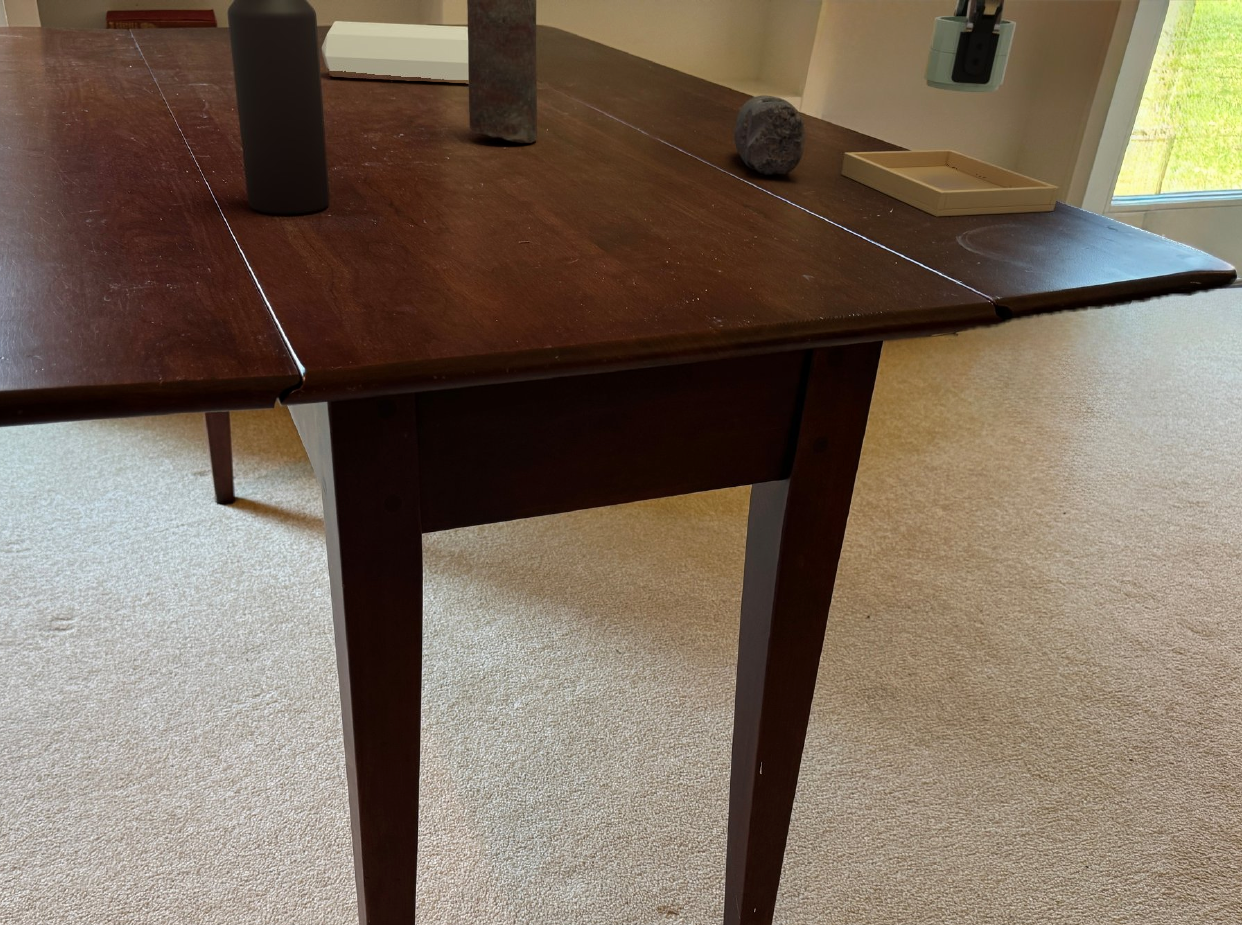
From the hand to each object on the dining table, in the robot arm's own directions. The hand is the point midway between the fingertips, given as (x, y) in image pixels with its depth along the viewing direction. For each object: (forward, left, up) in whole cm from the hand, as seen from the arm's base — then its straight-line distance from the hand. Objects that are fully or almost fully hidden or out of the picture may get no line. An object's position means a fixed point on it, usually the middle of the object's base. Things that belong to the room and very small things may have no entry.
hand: (964, 75), depth 101 cm
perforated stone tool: (+13, -13, -11) cm, 21 cm away
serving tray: (0, 0, -10) cm, 10 cm away
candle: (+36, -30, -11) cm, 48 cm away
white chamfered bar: (+39, -76, -11) cm, 86 cm away
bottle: (+61, -4, -11) cm, 62 cm away
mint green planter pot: (0, 0, -1) cm, 1 cm away
